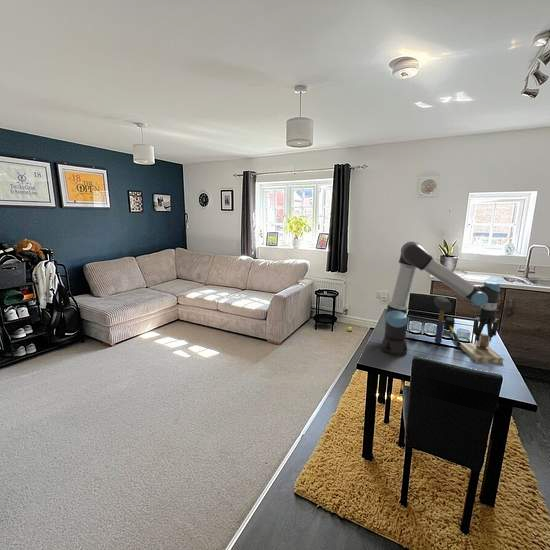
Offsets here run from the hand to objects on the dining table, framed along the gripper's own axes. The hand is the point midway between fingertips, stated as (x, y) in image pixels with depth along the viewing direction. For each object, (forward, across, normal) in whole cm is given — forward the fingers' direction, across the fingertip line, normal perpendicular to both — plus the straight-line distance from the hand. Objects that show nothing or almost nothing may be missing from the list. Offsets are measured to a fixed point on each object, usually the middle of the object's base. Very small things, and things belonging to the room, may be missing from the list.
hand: (482, 345), depth 177 cm
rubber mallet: (+5, -20, +11) cm, 23 cm away
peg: (+3, 0, 0) cm, 3 cm away
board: (+4, -2, -3) cm, 6 cm away
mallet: (+5, -6, +21) cm, 23 cm away
